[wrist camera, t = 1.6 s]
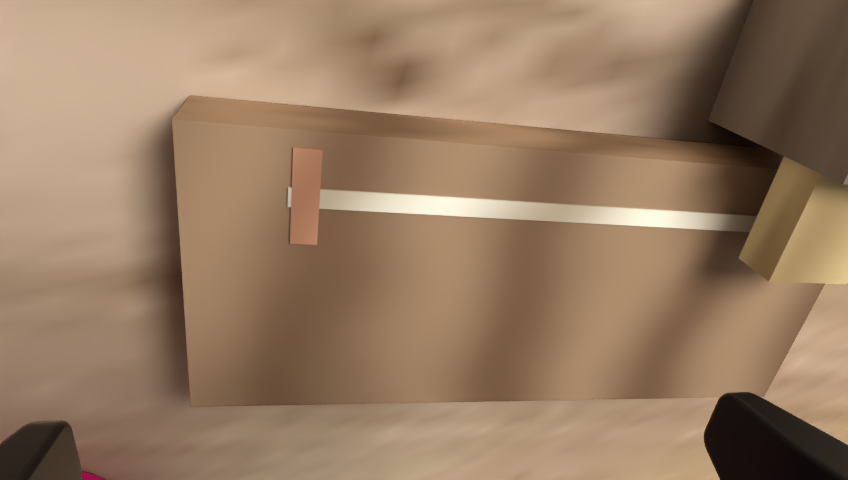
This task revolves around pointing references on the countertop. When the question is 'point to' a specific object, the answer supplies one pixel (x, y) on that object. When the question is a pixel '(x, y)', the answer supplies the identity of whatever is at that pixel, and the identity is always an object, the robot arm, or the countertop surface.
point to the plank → (467, 261)
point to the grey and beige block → (794, 134)
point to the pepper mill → (89, 476)
